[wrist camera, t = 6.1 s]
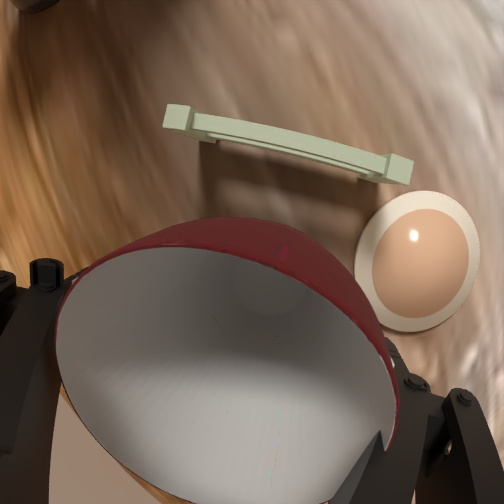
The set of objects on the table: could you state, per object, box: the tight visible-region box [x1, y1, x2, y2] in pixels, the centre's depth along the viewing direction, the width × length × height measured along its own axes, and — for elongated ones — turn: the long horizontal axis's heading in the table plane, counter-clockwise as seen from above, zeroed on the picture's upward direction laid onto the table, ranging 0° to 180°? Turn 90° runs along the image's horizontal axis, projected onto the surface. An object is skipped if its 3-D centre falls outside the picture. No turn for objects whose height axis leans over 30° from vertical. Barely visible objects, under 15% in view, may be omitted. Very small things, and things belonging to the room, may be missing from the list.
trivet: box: [354, 191, 480, 332], centre depth 24 cm, size 13×13×1 cm
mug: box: [55, 217, 400, 504], centre depth 11 cm, size 11×8×10 cm
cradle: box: [162, 104, 414, 185], centre depth 22 cm, size 15×18×8 cm
